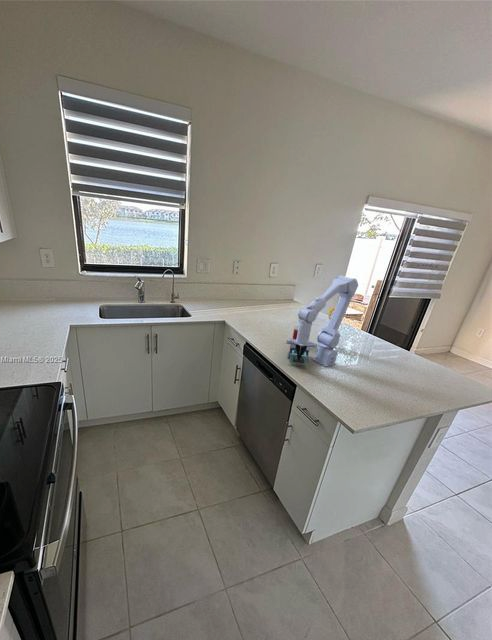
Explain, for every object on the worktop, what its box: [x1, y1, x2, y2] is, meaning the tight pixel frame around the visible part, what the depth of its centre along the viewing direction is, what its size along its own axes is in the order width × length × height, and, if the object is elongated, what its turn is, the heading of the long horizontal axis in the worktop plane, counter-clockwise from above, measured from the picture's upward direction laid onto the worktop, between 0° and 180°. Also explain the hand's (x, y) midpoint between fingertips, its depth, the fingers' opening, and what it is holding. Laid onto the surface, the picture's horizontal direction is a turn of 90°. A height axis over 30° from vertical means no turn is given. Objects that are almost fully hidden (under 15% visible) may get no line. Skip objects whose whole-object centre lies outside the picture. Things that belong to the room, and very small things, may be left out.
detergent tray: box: [288, 349, 309, 366], centre depth 148 cm, size 13×8×5 cm, turn 165°
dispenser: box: [287, 344, 310, 360], centre depth 156 cm, size 10×10×7 cm
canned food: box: [291, 325, 299, 340], centre depth 170 cm, size 8×8×11 cm
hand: (298, 359), depth 144 cm, fingers closed
